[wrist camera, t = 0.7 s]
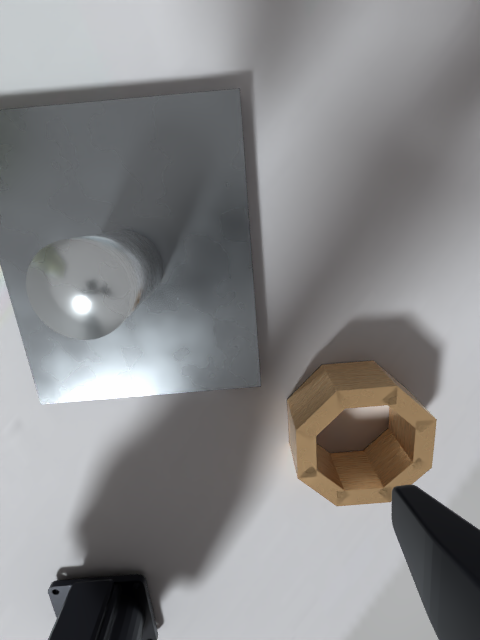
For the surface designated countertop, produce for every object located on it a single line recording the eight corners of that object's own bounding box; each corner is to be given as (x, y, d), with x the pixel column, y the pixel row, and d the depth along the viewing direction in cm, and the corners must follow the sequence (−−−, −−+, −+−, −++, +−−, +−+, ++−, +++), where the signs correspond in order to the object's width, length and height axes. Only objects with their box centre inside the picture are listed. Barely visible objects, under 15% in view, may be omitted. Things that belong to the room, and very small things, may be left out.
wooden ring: (402, 460, 22) (428, 498, 19) (290, 469, 22) (298, 509, 19) (409, 357, 19) (440, 382, 17) (285, 367, 20) (294, 394, 17)
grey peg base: (259, 377, 20) (271, 454, 14) (50, 394, 20) (-34, 478, 14) (239, 96, 16) (242, 18, 9) (-27, 119, 16) (-197, 59, 9)
